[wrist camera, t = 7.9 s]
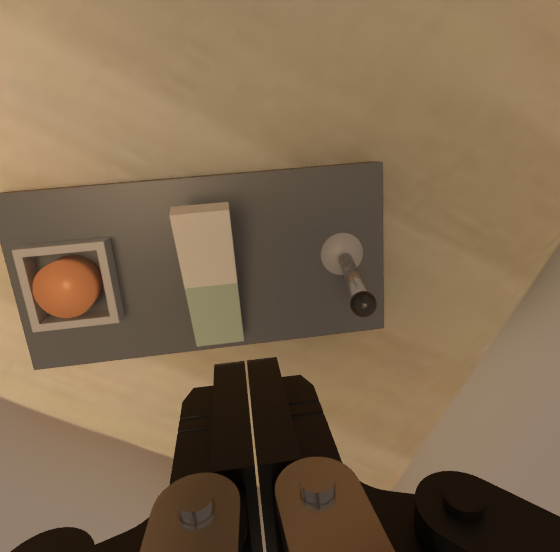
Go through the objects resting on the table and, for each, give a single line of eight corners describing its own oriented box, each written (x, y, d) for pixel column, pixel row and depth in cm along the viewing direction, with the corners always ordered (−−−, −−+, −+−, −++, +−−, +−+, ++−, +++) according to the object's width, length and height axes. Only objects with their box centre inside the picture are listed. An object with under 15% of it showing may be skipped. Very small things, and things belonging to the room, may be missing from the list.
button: (40, 257, 27) (26, 265, 25) (97, 252, 28) (88, 259, 26) (52, 310, 28) (40, 321, 26) (108, 304, 29) (99, 314, 27)
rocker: (170, 206, 24) (169, 215, 23) (228, 201, 24) (229, 209, 23) (197, 336, 30) (196, 346, 29) (242, 330, 30) (244, 341, 29)
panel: (4, 192, 28) (-28, 197, 25) (372, 161, 30) (391, 162, 27) (46, 356, 31) (23, 381, 28) (375, 318, 34) (391, 336, 30)
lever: (332, 247, 29) (355, 305, 24) (355, 244, 29) (382, 302, 25) (331, 265, 30) (352, 324, 25) (353, 263, 30) (378, 321, 26)
